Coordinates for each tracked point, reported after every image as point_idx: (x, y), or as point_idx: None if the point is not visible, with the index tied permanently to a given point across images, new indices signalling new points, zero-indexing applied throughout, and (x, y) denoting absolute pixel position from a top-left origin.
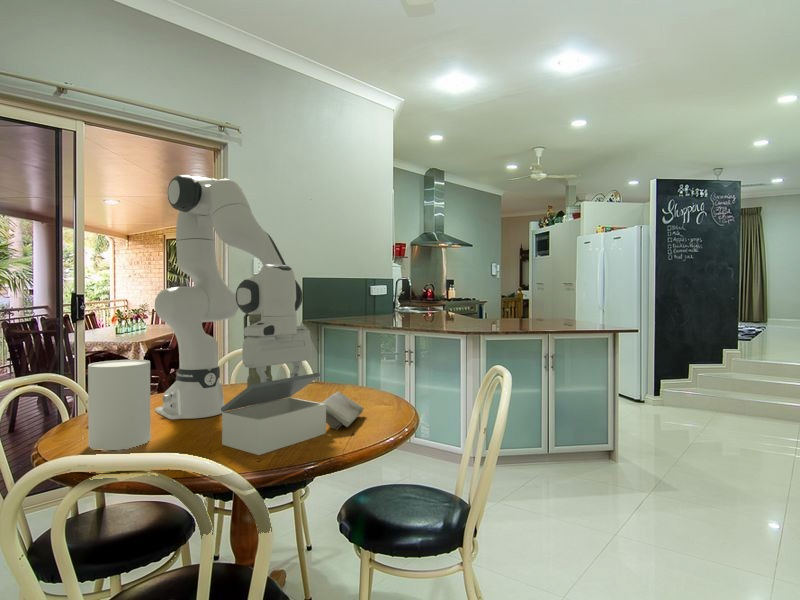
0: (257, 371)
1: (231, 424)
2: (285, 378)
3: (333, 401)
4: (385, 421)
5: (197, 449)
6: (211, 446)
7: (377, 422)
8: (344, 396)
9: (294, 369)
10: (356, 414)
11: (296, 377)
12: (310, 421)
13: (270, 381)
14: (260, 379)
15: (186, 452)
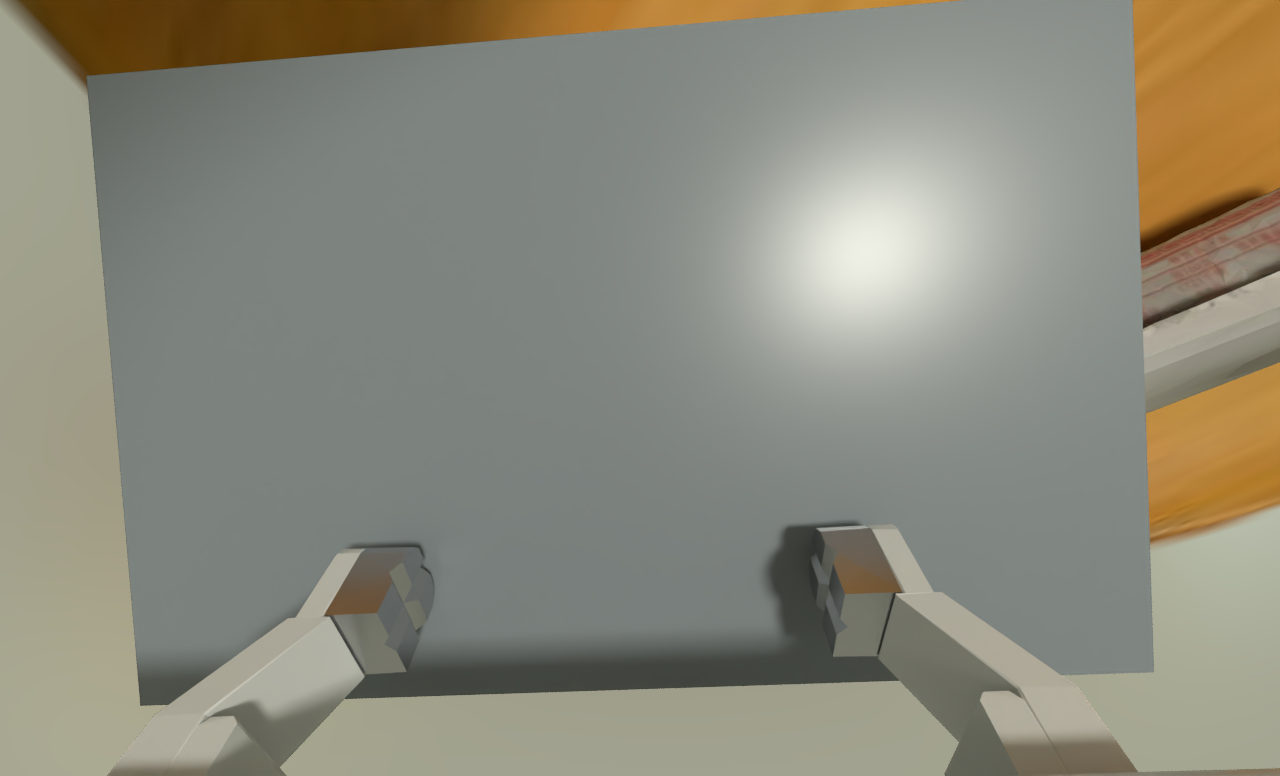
0: (176, 722)
1: None
2: (593, 690)
3: (1160, 374)
4: (1227, 432)
5: (142, 50)
6: (241, 62)
7: (1193, 416)
8: None
9: (928, 652)
10: (1147, 411)
11: (755, 678)
12: None
13: (382, 695)
14: (311, 593)
15: (67, 56)
